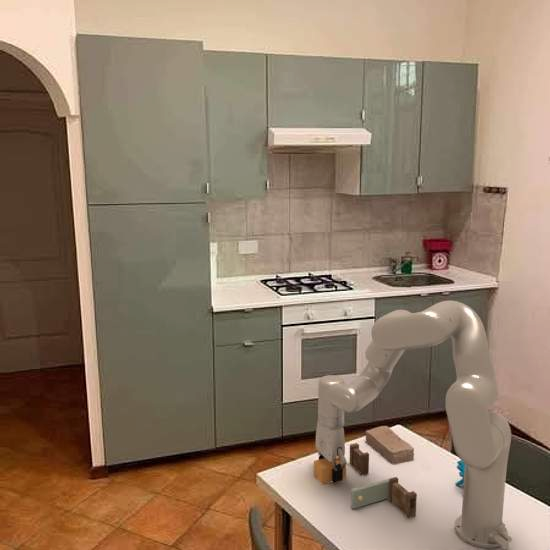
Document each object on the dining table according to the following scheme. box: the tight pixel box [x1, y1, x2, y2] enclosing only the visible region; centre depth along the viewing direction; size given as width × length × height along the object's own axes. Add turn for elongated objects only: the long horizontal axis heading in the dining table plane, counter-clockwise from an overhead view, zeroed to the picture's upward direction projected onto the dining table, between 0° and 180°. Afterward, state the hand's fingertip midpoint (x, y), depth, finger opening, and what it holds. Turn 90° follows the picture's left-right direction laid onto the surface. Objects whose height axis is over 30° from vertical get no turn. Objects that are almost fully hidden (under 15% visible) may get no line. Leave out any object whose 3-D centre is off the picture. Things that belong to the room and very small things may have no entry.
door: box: [350, 478, 390, 509], centre depth 157 cm, size 13×2×5 cm, turn 115°
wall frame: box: [349, 442, 418, 519], centre depth 164 cm, size 30×2×6 cm, turn 23°
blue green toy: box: [455, 459, 465, 487], centre depth 165 cm, size 11×6×10 cm
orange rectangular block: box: [313, 456, 347, 485], centre depth 171 cm, size 5×8×5 cm, turn 113°
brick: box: [365, 425, 415, 465], centre depth 186 cm, size 17×8×5 cm, turn 23°
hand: (330, 473), depth 171 cm, fingers open, 7 cm apart
